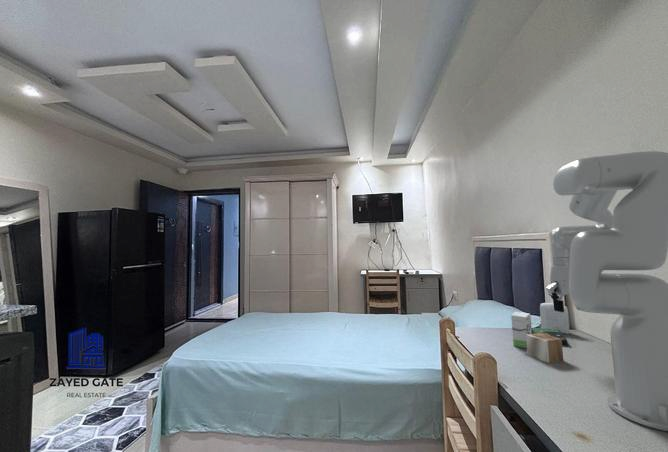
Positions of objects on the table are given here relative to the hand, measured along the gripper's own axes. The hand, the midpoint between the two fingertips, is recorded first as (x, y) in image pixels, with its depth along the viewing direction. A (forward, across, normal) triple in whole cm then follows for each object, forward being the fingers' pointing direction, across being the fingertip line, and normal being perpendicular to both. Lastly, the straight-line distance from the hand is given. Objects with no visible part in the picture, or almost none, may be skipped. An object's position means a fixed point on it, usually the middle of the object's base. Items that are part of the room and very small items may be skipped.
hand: (570, 310), depth 96 cm
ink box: (+15, +8, -13) cm, 22 cm away
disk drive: (+16, -7, -17) cm, 24 cm away
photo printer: (+15, -20, -24) cm, 35 cm away
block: (+12, +8, -1) cm, 14 cm away
